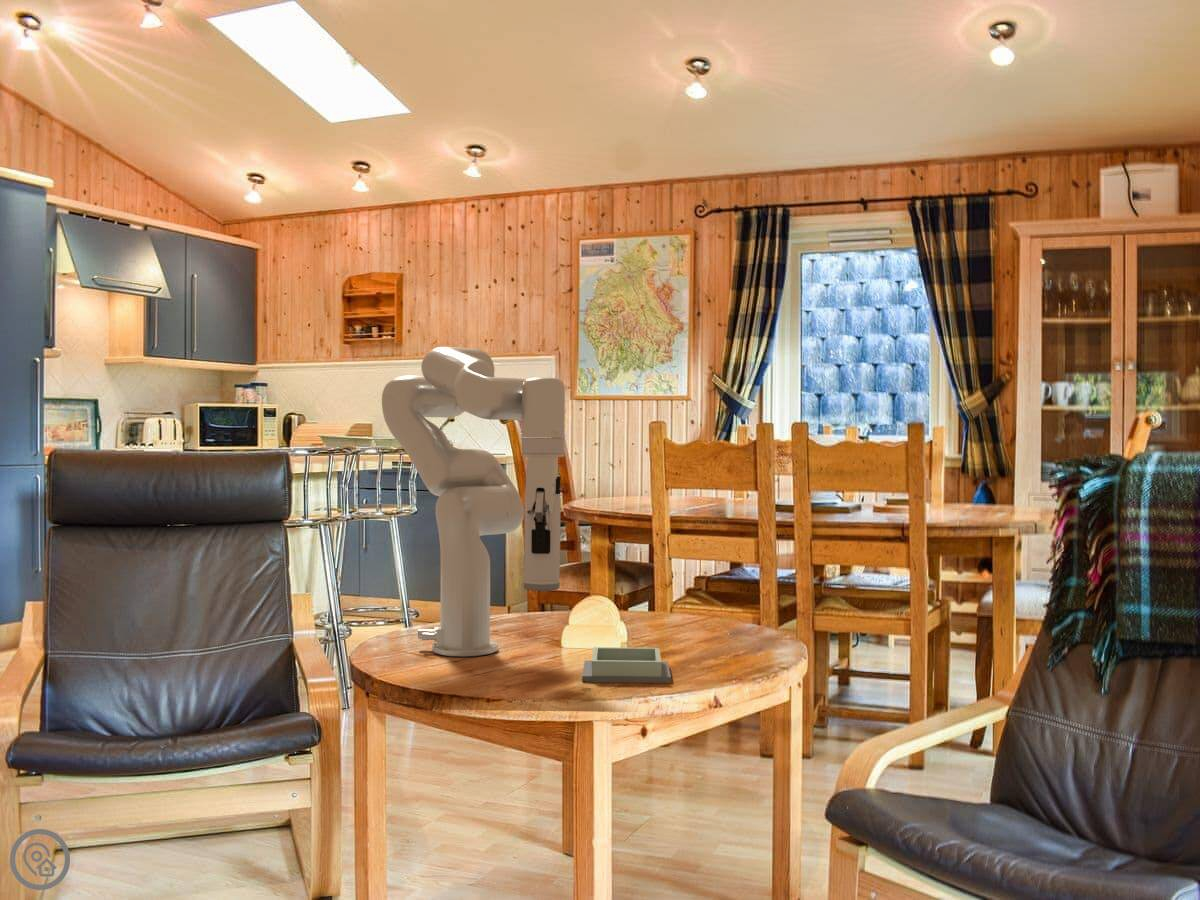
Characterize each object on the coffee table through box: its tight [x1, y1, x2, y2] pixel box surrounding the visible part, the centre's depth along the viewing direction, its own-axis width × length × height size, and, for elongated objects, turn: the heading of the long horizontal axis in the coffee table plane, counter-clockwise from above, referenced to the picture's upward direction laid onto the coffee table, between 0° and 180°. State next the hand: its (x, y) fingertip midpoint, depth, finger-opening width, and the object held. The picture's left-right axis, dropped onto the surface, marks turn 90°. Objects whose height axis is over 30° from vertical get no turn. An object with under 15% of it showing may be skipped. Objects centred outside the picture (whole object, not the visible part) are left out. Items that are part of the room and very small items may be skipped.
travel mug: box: [523, 475, 562, 592], centre depth 187 cm, size 6×7×20 cm
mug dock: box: [581, 646, 672, 684], centre depth 187 cm, size 15×12×4 cm
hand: (542, 550), depth 187 cm, fingers closed on travel mug, 6 cm apart
